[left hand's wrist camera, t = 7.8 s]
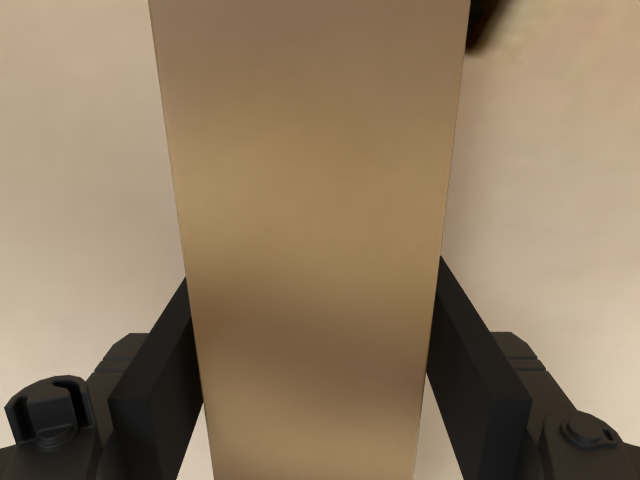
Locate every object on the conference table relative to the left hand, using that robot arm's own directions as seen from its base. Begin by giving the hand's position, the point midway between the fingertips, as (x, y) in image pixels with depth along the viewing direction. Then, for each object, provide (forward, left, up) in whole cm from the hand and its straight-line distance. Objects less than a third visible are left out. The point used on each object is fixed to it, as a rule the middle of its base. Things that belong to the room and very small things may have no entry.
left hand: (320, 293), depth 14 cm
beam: (+10, +18, -2) cm, 21 cm away
